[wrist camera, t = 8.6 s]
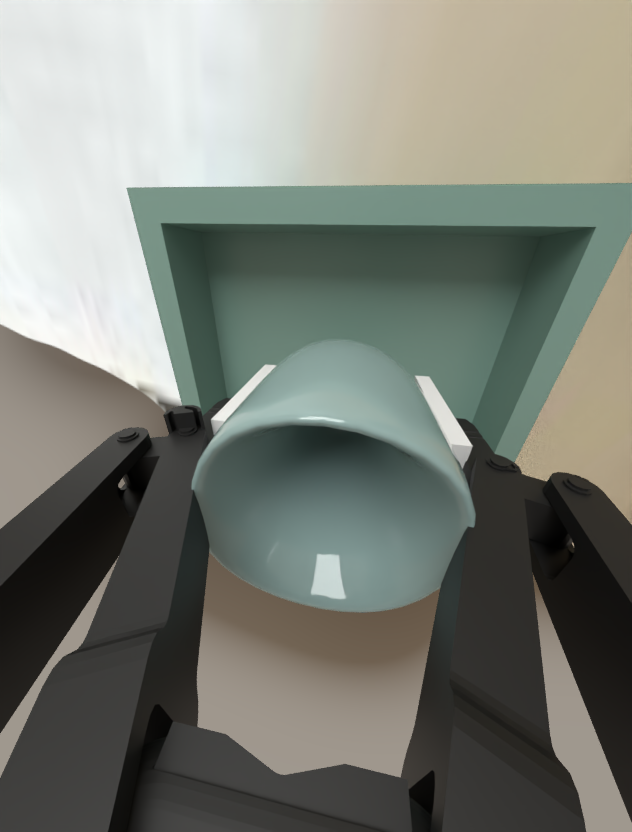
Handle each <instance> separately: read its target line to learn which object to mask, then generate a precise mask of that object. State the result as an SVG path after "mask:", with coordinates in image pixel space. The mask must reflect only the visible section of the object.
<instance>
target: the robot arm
mask: <svg viewBox="0 0 632 832" xmlns="http://www.w3.org/2000/svg"><path fill="white" fill-rule="evenodd" d="M275 366H277V365H264V366H263V367H262V368H261V369H260V370H259V371H258V372H257V373H256V374H255V375H254V376H253V377H252V378H251V379H250V381H249V382H248V383H247V384H246V385H245V386H244V387H243V388H242V389H241V390H240V391H239V392H238V393H237V394H236V395H235V396H234V397H233V398H225V399H223V400H221V401H219V402H217V403H216V404H215V405H214V406H213V407H212V408H211V409H210V410H208V412H206V413H205V414H204V415H203V416H202V411H201V408H200V407H198V406H194V405H183V406H178V407H175V408H172V409H170V410H168V411H166V413H165V414H164V418H165V421H166V425H167V428H168V432H169V435H168V436H167V437H156V438H150V436H149V434H148V431H147V430H146V429H144V428H139V427H137V428H128V429H123V430H122V431H120V432H117V433H115V434H113V435H112V436H110V437H109V438H108V439H107V440H106V441H104V442H103V443H102V444H101V445H100V446H99V447H97V448H96V449H95V450H94V451H93V452H91V453H90V454H89V455H88V456H87V457H85V458H84V459H83V460H82V461H81V462H79V463H78V464H77V465H76V466H75V467H74V468H72V469H71V470H70V471H69V472H68V473H66V474H65V475H64V476H63V477H62V478H60V480H58V481H57V482H56V483H55V484H53V485H52V486H51V487H50V488H49V489H47V490H46V491H45V492H44V493H43V494H41V495H40V496H39V497H38V498H37V499H36V500H34V501H33V502H32V503H31V504H30V505H28V506H27V507H26V508H25V509H24V510H22V511H21V512H20V513H19V514H18V515H17V516H16V517H14V518H13V519H12V520H11V521H9V522H8V523H7V524H6V525H5V526H4V527H2V528H1V529H0V733H1V731H2V730H3V729H4V727H5V725H6V724H7V722H8V721H9V720H10V718H11V716H12V715H13V714H14V712H15V711H16V709H17V707H18V706H19V705H20V703H21V701H22V700H23V699H24V697H25V696H26V694H27V693H28V691H29V689H30V688H31V687H32V685H33V683H34V682H35V681H36V679H37V678H38V676H39V675H40V673H41V671H42V670H43V669H44V667H45V665H46V664H47V662H48V661H49V659H50V658H51V657H52V655H53V654H54V652H55V651H56V649H57V647H58V646H59V644H60V643H61V641H62V640H63V639H64V637H65V636H66V634H67V632H68V631H69V630H70V628H71V627H72V625H73V624H74V622H75V621H76V619H77V618H78V616H79V615H80V613H81V611H82V610H83V609H84V607H85V606H86V604H87V603H88V601H89V600H90V598H91V597H92V595H93V593H94V592H95V591H96V589H97V588H98V586H99V585H100V583H101V582H102V580H103V579H104V577H105V576H106V574H107V573H108V571H109V570H110V568H111V567H112V565H113V564H114V562H115V561H116V559H117V558H118V556H119V558H118V560H117V563H116V565H115V567H114V570H113V572H112V575H111V578H110V580H109V582H108V585H107V587H106V589H105V592H104V594H103V597H102V600H101V602H100V604H99V607H98V609H97V612H96V614H95V617H94V619H93V621H92V624H91V626H90V629H89V631H88V634H87V636H86V638H85V640H84V642H83V644H82V645H81V646H80V647H79V648H78V649H77V650H75V651H74V652H72V653H70V654H68V655H66V656H64V657H63V658H62V659H61V660H60V661H59V662H58V663H57V664H56V666H55V667H54V668H53V669H52V671H51V673H50V674H49V676H48V678H47V680H46V682H45V683H44V685H43V687H42V689H41V691H40V693H39V695H38V698H37V700H36V702H35V704H34V706H33V708H32V711H31V713H30V715H29V717H28V719H27V722H26V724H25V726H24V728H23V730H22V732H21V734H20V736H19V739H18V741H17V743H16V745H15V747H14V749H13V752H12V754H11V756H10V758H9V760H8V763H7V765H6V767H5V769H4V771H3V773H2V776H1V778H0V832H586V829H585V822H584V818H583V813H582V809H581V804H580V800H579V795H578V792H577V790H576V787H575V785H574V782H573V780H572V777H571V775H570V773H569V772H568V770H567V769H566V768H565V767H564V766H563V764H562V763H561V762H560V761H559V760H558V758H557V757H556V755H555V753H554V750H553V747H552V743H551V737H550V730H549V722H548V712H547V703H546V693H545V684H544V675H543V666H542V657H541V647H540V639H539V630H538V620H537V611H536V602H535V592H534V583H533V575H534V577H535V580H536V582H537V585H538V587H539V590H540V592H541V595H542V597H543V600H544V603H545V605H546V607H547V610H548V613H549V615H550V617H551V620H552V623H553V625H554V628H555V630H556V633H557V635H558V638H559V640H560V643H561V645H562V648H563V650H564V653H565V655H566V658H567V661H568V663H569V665H570V668H571V671H572V673H573V676H574V678H575V681H576V683H577V686H578V688H579V691H580V693H581V696H582V698H583V701H584V703H585V706H586V708H587V711H588V713H589V716H590V719H591V721H592V724H593V726H594V729H595V731H596V734H597V736H598V739H599V741H600V744H601V746H602V749H603V751H604V754H605V756H606V759H607V761H608V764H609V766H610V769H611V771H612V774H613V776H614V779H615V782H616V784H617V786H618V789H619V791H620V794H621V797H622V799H623V802H624V804H625V807H626V809H627V812H628V814H629V817H630V819H631V822H632V525H631V524H630V522H629V521H628V520H627V519H626V518H625V517H624V515H623V514H622V513H621V512H620V511H619V510H618V508H617V507H616V506H615V505H614V504H613V503H612V501H611V500H610V499H609V498H608V497H607V496H606V494H605V493H604V492H603V491H602V490H601V489H600V488H598V487H597V486H596V485H594V484H593V483H591V482H589V481H588V480H587V479H584V478H581V477H580V476H577V475H572V474H569V473H562V472H557V473H553V474H552V475H551V476H550V478H549V480H548V481H547V482H546V481H543V480H539V479H536V478H532V477H529V476H526V475H523V474H522V473H521V470H520V468H519V467H518V466H517V465H516V464H515V463H514V462H513V461H511V460H509V459H508V458H506V457H503V456H500V455H497V454H495V453H494V452H493V451H492V449H491V448H490V446H489V445H488V444H487V442H486V441H485V439H483V437H482V435H481V434H480V433H479V431H478V430H477V428H476V427H475V425H473V424H472V423H470V422H469V421H468V420H466V419H461V418H455V417H454V416H453V414H452V412H451V411H450V409H449V408H448V406H447V404H446V403H445V401H444V400H443V398H442V396H441V395H440V393H439V392H438V390H437V388H436V387H435V385H434V384H433V382H432V380H431V379H430V377H428V376H415V377H414V380H415V382H416V383H417V385H418V386H419V388H420V389H421V391H422V392H423V394H424V395H425V397H426V398H427V400H428V402H429V403H430V405H431V407H432V409H433V411H434V412H435V414H436V416H437V418H438V420H439V422H440V424H441V426H442V428H443V430H444V432H445V434H446V436H447V438H448V440H449V442H450V444H451V446H452V448H453V450H454V452H455V454H456V456H457V458H458V460H459V462H460V465H461V467H462V469H463V471H464V474H465V477H466V480H467V483H468V486H469V489H470V492H471V496H472V499H473V503H474V506H475V512H476V521H475V526H474V528H473V527H469V526H468V527H467V529H466V530H465V532H464V534H463V536H462V538H461V540H460V542H459V544H458V546H457V548H456V550H455V552H454V554H453V557H452V559H451V561H450V563H449V566H448V568H447V570H446V573H445V576H444V578H443V581H442V583H441V588H440V593H439V598H438V604H437V609H436V615H435V621H434V625H433V630H432V636H431V641H430V647H429V652H428V658H427V663H426V668H425V674H424V679H423V684H422V689H421V695H420V700H419V705H418V711H417V716H416V721H415V726H414V730H413V733H412V737H411V740H410V743H409V746H408V749H407V753H406V757H405V761H404V765H403V770H402V774H401V778H399V777H395V776H391V775H387V774H383V773H379V772H375V771H371V770H367V769H363V768H359V767H355V766H351V765H347V764H343V765H338V766H332V767H327V768H321V769H316V770H311V771H305V772H300V773H294V774H289V775H280V774H277V773H275V772H274V771H272V770H271V769H270V768H269V767H267V766H266V765H264V764H263V763H262V762H261V761H259V760H258V759H257V758H256V757H254V756H253V755H252V754H251V753H249V752H248V751H247V750H245V749H244V748H243V747H242V746H240V745H239V744H238V743H236V742H235V741H234V740H232V739H231V738H230V737H229V736H228V735H226V734H222V733H219V732H215V731H210V730H207V729H203V728H198V727H197V723H198V694H197V665H198V655H199V646H200V636H201V626H202V616H203V606H204V596H205V587H206V577H207V567H208V557H209V547H210V545H209V540H208V534H207V530H206V526H205V522H204V518H203V515H202V512H201V509H200V506H199V503H198V500H197V498H196V496H195V493H194V490H192V488H191V484H192V478H193V475H194V472H195V469H196V466H197V463H198V460H199V458H200V456H201V454H202V453H203V451H204V450H205V448H206V447H207V445H208V444H209V442H210V441H211V440H212V438H213V437H214V435H215V434H216V432H217V431H218V429H219V428H220V427H221V425H222V424H223V423H224V422H225V420H226V419H227V418H228V417H229V416H230V414H231V413H232V412H233V411H234V410H235V409H236V407H237V406H238V405H239V404H240V403H241V402H242V401H243V400H244V398H245V397H246V396H247V395H248V394H249V393H250V392H251V391H252V390H253V388H254V387H255V386H256V385H257V384H258V383H259V382H260V381H261V380H262V379H263V378H264V377H265V376H266V375H267V374H268V373H269V372H270V371H271V370H272V369H273V368H274V367H275ZM122 478H123V479H124V482H125V484H124V486H123V487H122V488H119V487H118V484H119V482H120V480H121V479H122ZM572 542H573V543H574V547H573V545H572ZM532 572H533V574H532Z"/></svg>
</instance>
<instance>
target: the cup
mask: <svg viewBox="0 0 632 832" xmlns="http://www.w3.org/2000/svg"><path fill="white" fill-rule="evenodd" d="M191 488H192V490H194V493H195V496H196V498H197V500H198V503H199V506H200V509H201V512H202V515H203V518H204V522H205V526H206V530H207V534H208V540H209V545H210V547H209V552H210V553H211V554H212V555H213V556H214V557H215V558H216V559H217V560H218V561H219V563H221V565H222V566H223V567H225V568H226V569H227V570H229V571H230V572H231V573H233V574H234V575H235V576H237V577H238V578H240V579H242V580H243V581H245V582H247V583H249V584H251V585H252V586H254V587H256V588H258V589H260V590H263V591H265V592H267V593H270V594H272V595H274V596H277V597H280V598H283V599H286V600H289V601H292V602H295V603H298V604H303V605H307V606H312V607H315V608H320V609H327V610H334V611H341V612H362V613H364V612H377V611H386V610H391V609H395V608H400V607H404V606H406V605H409V604H411V603H414V602H416V601H419V600H421V599H423V598H425V597H427V596H428V595H430V594H431V593H433V592H434V591H436V590H438V589H440V588H441V583H442V581H443V578H444V576H445V573H446V570H447V568H448V566H449V563H450V561H451V559H452V557H453V554H454V552H455V550H456V548H457V546H458V544H459V542H460V540H461V538H462V536H463V534H464V532H465V530H466V529H467V527H468V526H469V527H473V528H474V526H475V521H476V512H475V506H474V503H473V499H472V496H471V492H470V489H469V486H468V483H467V480H466V477H465V474H464V471H463V469H462V467H461V465H460V462H459V460H458V458H457V456H456V454H455V452H454V450H453V448H452V446H451V444H450V442H449V440H448V438H447V436H446V434H445V432H444V430H443V428H442V426H441V424H440V422H439V420H438V418H437V416H436V414H435V412H434V411H433V409H432V407H431V405H430V403H429V402H428V400H427V398H426V397H425V395H424V394H423V392H422V391H421V389H420V388H419V386H418V385H417V383H416V382H415V380H414V379H413V377H412V376H411V375H410V373H409V372H408V371H407V370H406V369H405V368H404V367H403V366H402V365H401V364H400V363H399V362H397V361H396V360H395V359H394V358H393V357H392V356H391V355H389V354H387V353H385V352H384V351H382V350H380V349H378V348H376V347H374V346H372V345H369V344H366V343H363V342H360V341H354V340H348V339H327V340H323V341H318V342H313V343H310V344H308V345H306V346H304V347H302V348H300V349H298V350H296V351H294V352H293V353H291V354H290V355H289V356H287V357H286V358H285V359H284V360H283V361H281V362H280V363H279V364H278V365H277V366H275V367H274V368H273V369H272V370H271V371H270V372H269V373H268V374H267V375H266V376H265V377H264V378H263V379H262V380H261V381H260V382H259V383H258V384H257V385H256V386H255V387H254V388H253V390H252V391H251V392H250V393H249V394H248V395H247V396H246V397H245V398H244V400H243V401H242V402H241V403H240V404H239V405H238V406H237V407H236V409H235V410H234V411H233V412H232V413H231V414H230V416H229V417H228V418H227V419H226V420H225V422H224V423H223V424H222V425H221V427H220V428H219V429H218V431H217V432H216V434H215V435H214V437H213V438H212V440H211V441H210V442H209V444H208V445H207V447H206V448H205V450H204V451H203V453H202V454H201V456H200V458H199V460H198V463H197V466H196V469H195V472H194V475H193V478H192V484H191Z"/></svg>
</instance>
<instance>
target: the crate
mask: <svg viewBox="0 0 632 832" xmlns="http://www.w3.org/2000/svg"><path fill="white" fill-rule="evenodd" d="M127 191H128V195H129V199H130V203H131V207H132V211H133V215H134V219H135V222H136V226H137V230H138V234H139V238H140V242H141V246H142V250H143V254H144V258H145V261H146V265H147V269H148V273H149V277H150V281H151V285H152V289H153V293H154V297H155V300H156V304H157V308H158V312H159V316H160V320H161V324H162V328H163V332H164V336H165V340H166V343H167V347H168V351H169V355H170V359H171V363H172V367H173V371H174V375H175V379H176V382H177V386H178V390H179V394H180V398H181V402H182V406H183V405H194V406H198V407H200V408H201V411H202V416H203V415H204V414H205V413H206V412H208V410H210V409H211V408H212V407H213V406H214V405H215V404H216V403H217V402H219V401H221V400H223V399H225V398H233V397H234V396H235V395H236V394H237V393H238V392H239V391H240V390H241V389H242V388H243V387H244V386H245V385H246V384H247V383H248V382H249V381H250V379H251V378H252V377H253V376H254V375H255V374H256V373H257V372H258V371H259V370H260V369H261V368H262V367H263V366H264V365H278V364H279V363H280V362H281V361H283V360H284V359H285V358H286V357H287V356H289V355H290V354H291V353H293V352H294V351H296V350H298V349H300V348H302V347H304V346H306V345H308V344H310V343H313V342H318V341H323V340H327V339H348V340H354V341H360V342H363V343H366V344H369V345H372V346H374V347H376V348H378V349H380V350H382V351H384V352H385V353H387V354H389V355H391V356H392V357H393V358H394V359H395V360H396V361H397V362H399V363H400V364H401V365H402V366H403V367H404V368H405V369H406V370H407V371H408V372H409V373H410V375H411V376H412V377H413V379H414V377H415V376H428V377H430V379H431V380H432V382H433V384H434V385H435V387H436V388H437V390H438V392H439V393H440V395H441V396H442V398H443V400H444V401H445V403H446V404H447V406H448V408H449V409H450V411H451V412H452V414H453V416H454V417H455V418H461V419H466V420H468V421H469V422H470V423H472V424H473V425H475V427H476V428H477V430H478V431H479V433H480V434H481V435H482V437H483V439H485V441H486V442H487V444H488V445H489V446H490V448H491V449H492V451H493V452H494V453H495V454H497V455H500V456H503V457H506V458H508V459H509V460H511V461H513V462H515V460H516V458H517V456H518V454H519V452H520V450H521V448H522V446H523V444H524V443H525V441H526V439H527V437H528V435H529V433H530V431H531V429H532V427H533V425H534V423H535V421H536V419H537V417H538V415H539V413H540V411H541V409H542V407H543V405H544V403H545V401H546V399H547V397H548V395H549V393H550V391H551V389H552V387H553V386H554V384H555V382H556V380H557V378H558V376H559V374H560V372H561V370H562V368H563V366H564V364H565V362H566V360H567V358H568V356H569V354H570V352H571V350H572V348H573V346H574V344H575V342H576V340H577V338H578V336H579V334H580V332H581V330H582V329H583V327H584V325H585V323H586V321H587V319H588V317H589V315H590V313H591V311H592V309H593V307H594V305H595V303H596V301H597V299H598V297H599V295H600V293H601V291H602V289H603V287H604V285H605V283H606V281H607V279H608V277H609V275H610V273H611V272H612V270H613V268H614V266H615V264H616V262H617V260H618V258H619V256H620V254H621V252H622V250H623V248H624V246H625V244H626V242H627V240H628V238H629V236H630V234H631V232H632V183H600V184H488V185H376V186H264V187H152V188H127Z"/></svg>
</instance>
